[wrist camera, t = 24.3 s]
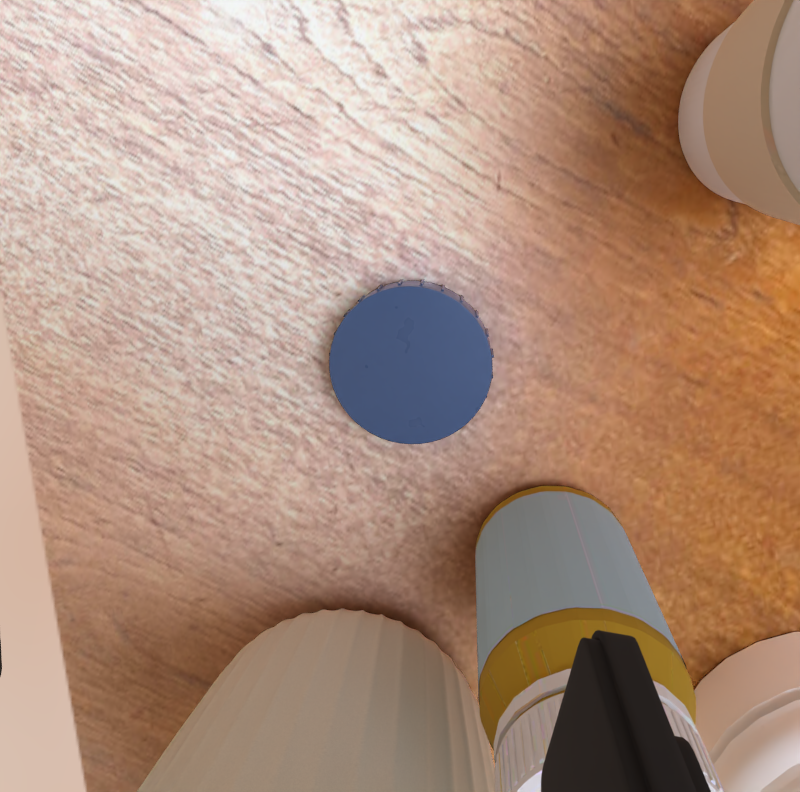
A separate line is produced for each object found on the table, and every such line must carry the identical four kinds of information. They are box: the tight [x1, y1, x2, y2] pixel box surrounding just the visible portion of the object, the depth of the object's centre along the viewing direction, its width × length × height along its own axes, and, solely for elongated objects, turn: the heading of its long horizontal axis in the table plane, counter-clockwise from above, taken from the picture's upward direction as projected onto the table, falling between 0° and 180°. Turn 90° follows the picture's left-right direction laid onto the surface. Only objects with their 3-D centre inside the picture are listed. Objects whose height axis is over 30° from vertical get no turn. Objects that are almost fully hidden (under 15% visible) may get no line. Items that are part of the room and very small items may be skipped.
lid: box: [329, 279, 494, 444], centre depth 29 cm, size 7×7×2 cm
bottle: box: [475, 486, 725, 792], centre depth 25 cm, size 7×7×15 cm
